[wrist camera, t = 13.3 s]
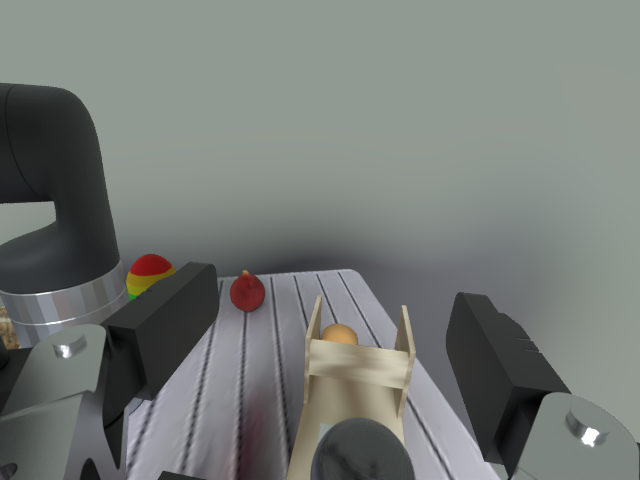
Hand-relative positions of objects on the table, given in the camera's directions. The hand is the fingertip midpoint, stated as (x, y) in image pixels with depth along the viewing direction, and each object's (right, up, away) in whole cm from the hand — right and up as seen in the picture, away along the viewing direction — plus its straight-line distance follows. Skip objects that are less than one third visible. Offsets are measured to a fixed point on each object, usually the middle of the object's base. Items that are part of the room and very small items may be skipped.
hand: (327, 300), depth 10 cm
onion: (-13, -11, +42) cm, 46 cm away
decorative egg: (-29, -10, +42) cm, 52 cm away
